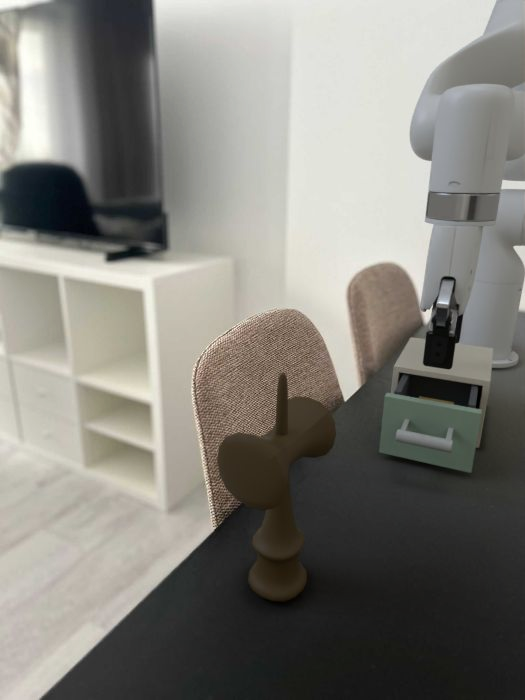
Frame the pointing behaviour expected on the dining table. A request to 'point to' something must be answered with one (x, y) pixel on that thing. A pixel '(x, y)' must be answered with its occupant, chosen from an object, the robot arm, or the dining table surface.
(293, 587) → the kendama
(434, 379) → the green drawer
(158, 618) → the dining table surface
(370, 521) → the dining table surface
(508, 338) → the robot arm
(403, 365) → the small drawer cabinet
